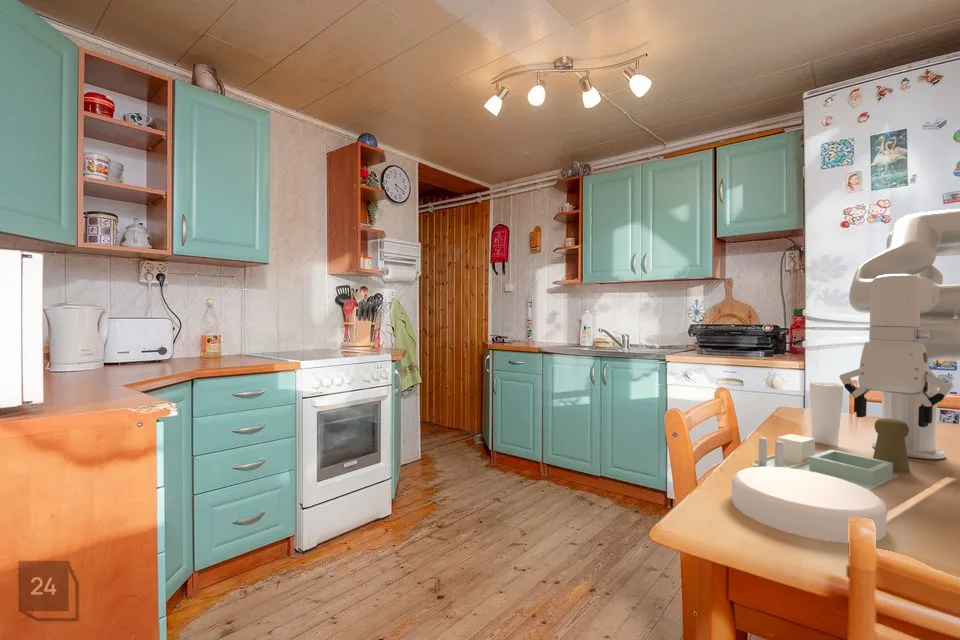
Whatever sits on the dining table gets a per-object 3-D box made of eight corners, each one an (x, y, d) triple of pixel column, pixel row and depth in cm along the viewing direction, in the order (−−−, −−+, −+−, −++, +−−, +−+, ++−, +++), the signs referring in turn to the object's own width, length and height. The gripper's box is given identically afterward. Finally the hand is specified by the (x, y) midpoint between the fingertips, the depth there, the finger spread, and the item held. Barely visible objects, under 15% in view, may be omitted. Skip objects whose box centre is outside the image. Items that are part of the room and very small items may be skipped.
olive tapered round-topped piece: (918, 480, 90) (920, 423, 89) (882, 477, 91) (884, 421, 91) (897, 470, 95) (898, 417, 95) (863, 467, 97) (865, 415, 97)
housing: (790, 454, 101) (790, 433, 101) (814, 459, 97) (815, 438, 97) (776, 458, 98) (777, 437, 98) (801, 464, 94) (801, 442, 94)
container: (905, 560, 60) (906, 524, 60) (730, 523, 70) (731, 493, 70) (867, 505, 77) (868, 478, 77) (732, 482, 87) (732, 458, 87)
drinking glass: (840, 443, 116) (841, 383, 115) (843, 449, 110) (845, 386, 110) (807, 438, 119) (808, 381, 119) (808, 444, 114) (810, 384, 113)
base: (793, 456, 103) (793, 427, 103) (897, 481, 88) (898, 447, 88) (751, 470, 94) (752, 437, 94) (860, 501, 79) (861, 461, 78)
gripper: (959, 338, 87) (956, 429, 87) (848, 335, 102) (846, 412, 102) (948, 337, 83) (945, 432, 83) (834, 334, 98) (831, 414, 98)
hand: (890, 421), depth 92 cm, fingers open, 9 cm apart
